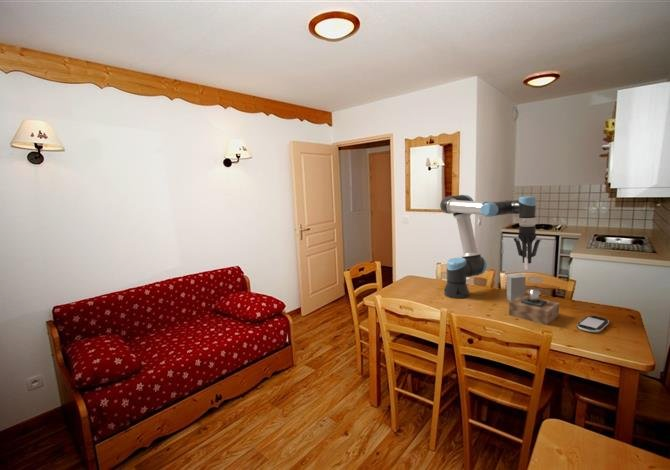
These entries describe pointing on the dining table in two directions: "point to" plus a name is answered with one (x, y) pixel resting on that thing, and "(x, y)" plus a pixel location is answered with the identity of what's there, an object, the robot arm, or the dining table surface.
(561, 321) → the dining table surface
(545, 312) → the socket block
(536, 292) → the peg
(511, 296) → the skincare box
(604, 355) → the dining table surface
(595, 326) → the gaming console
